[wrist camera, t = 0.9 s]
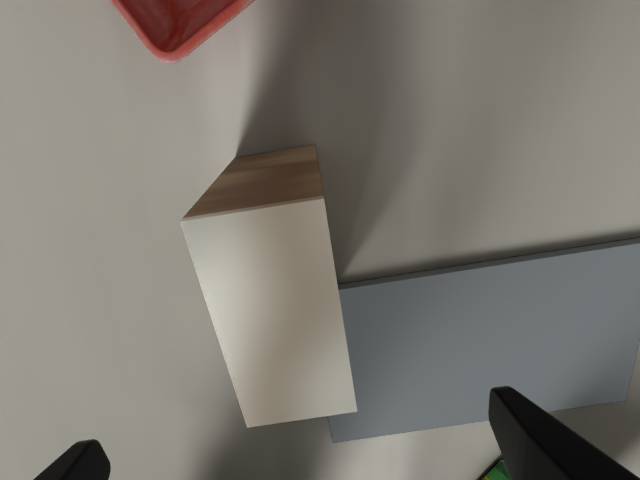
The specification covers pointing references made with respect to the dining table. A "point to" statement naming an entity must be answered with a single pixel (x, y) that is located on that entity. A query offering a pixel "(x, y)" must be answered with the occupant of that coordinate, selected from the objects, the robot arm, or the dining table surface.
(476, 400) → the mat
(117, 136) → the dining table surface
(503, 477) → the colorful printed box
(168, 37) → the plant saucer
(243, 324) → the block
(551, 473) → the robot arm
